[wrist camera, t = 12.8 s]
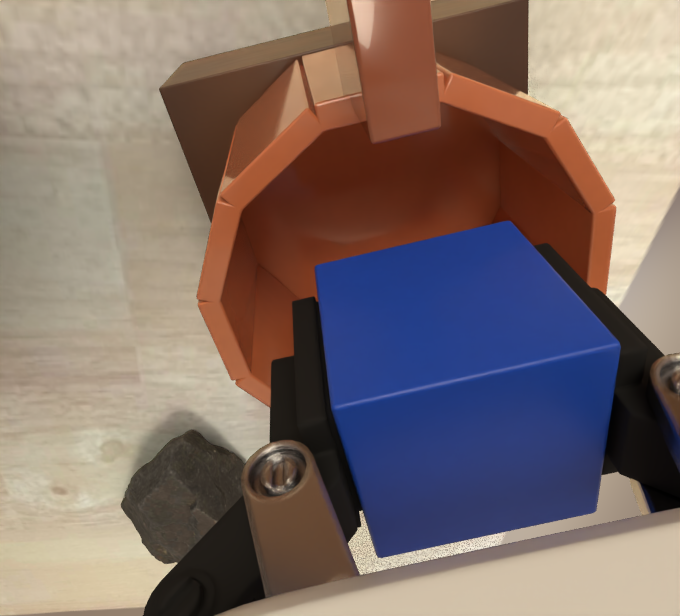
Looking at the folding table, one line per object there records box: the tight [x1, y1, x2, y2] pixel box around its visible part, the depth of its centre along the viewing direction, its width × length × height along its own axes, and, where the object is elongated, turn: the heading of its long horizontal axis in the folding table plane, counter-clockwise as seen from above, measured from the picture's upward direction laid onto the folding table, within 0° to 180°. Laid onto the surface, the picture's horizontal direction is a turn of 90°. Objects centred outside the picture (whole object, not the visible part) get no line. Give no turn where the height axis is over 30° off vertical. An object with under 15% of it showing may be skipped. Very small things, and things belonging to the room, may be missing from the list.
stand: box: [159, 0, 528, 223], centre depth 21 cm, size 12×11×5 cm
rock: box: [121, 430, 244, 564], centre depth 33 cm, size 10×6×10 cm
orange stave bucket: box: [196, 0, 616, 407], centre depth 14 cm, size 11×13×10 cm
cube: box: [314, 221, 621, 558], centre depth 11 cm, size 4×4×4 cm
